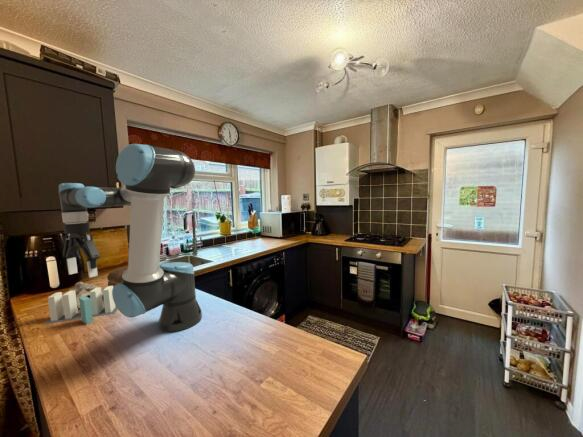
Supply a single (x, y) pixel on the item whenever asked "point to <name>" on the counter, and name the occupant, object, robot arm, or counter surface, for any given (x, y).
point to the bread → (116, 276)
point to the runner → (78, 316)
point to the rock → (83, 291)
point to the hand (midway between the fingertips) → (83, 275)
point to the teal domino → (86, 310)
